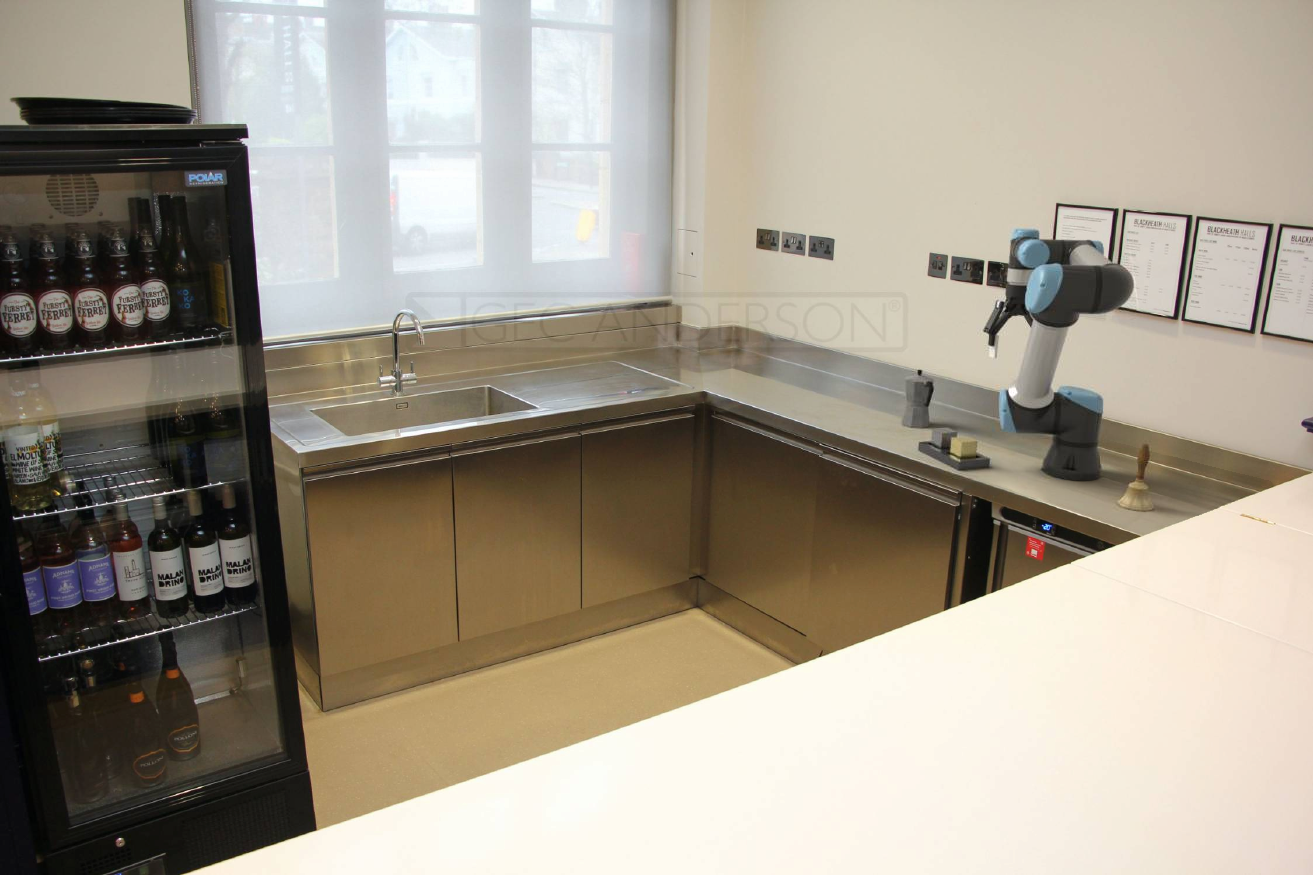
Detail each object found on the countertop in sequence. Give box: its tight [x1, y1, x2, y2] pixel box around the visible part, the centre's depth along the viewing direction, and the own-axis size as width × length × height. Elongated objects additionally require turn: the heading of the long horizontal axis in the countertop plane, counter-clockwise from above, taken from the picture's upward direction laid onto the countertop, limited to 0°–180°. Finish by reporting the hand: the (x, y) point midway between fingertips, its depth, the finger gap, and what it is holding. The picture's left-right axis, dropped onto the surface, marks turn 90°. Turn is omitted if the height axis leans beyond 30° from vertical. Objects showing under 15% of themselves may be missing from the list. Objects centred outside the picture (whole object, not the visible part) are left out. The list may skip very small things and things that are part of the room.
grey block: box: [930, 427, 958, 450], centre depth 291 cm, size 5×5×7 cm
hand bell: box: [1116, 443, 1154, 512], centre depth 250 cm, size 8×8×16 cm
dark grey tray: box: [917, 440, 991, 471], centre depth 287 cm, size 20×10×3 cm, turn 18°
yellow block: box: [950, 435, 978, 460], centre depth 282 cm, size 5×5×7 cm
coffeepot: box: [901, 369, 935, 429], centre depth 321 cm, size 15×9×18 cm, turn 14°
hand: (1012, 355), depth 298 cm, fingers open, 13 cm apart
